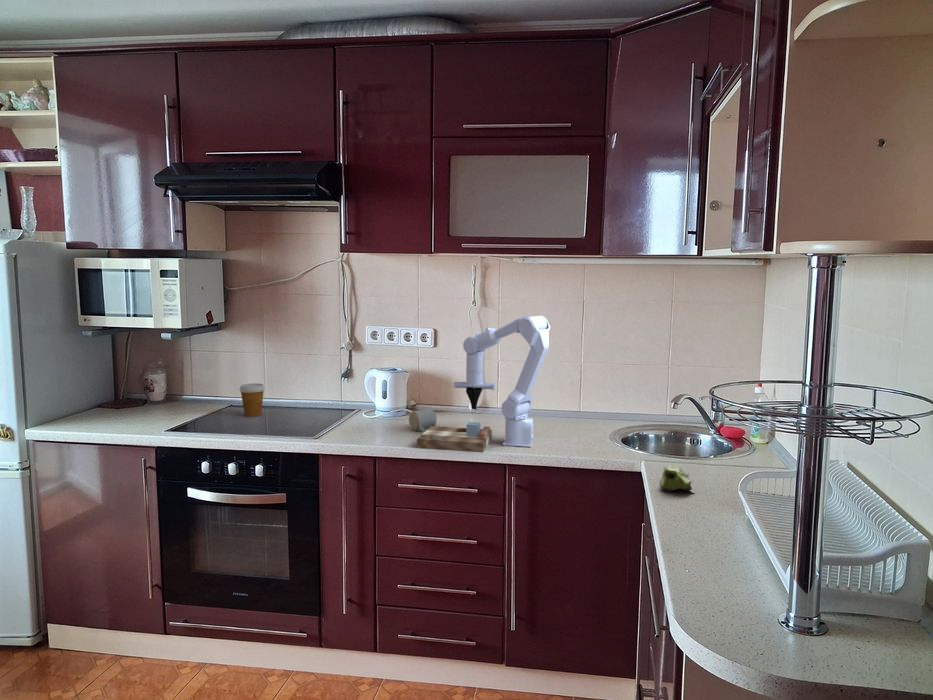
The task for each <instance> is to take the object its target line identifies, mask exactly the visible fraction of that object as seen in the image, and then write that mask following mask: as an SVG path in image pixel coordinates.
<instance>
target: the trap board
mask: <svg viewBox="0 0 933 700" xmlns="http://www.w3.org/2000/svg"><path fill="white" fill-rule="evenodd" d="M466 428H467V427H455V426H454V427H451V426H437V425H436V426H430V427H429V428H428V429H427V430H426V431H425V432H422V434H421V435H420V436H419V437H417V439H416V447H417V449H429V450H430V449H432V450H443V451H444V450H445V451H460V452H475V453H477V452H478V453H484V452H485V450H486V448H487V447H488V445H489V444H490V442H491V440H492V439H493V429H491V426H484V427H482V428H480V433H479V437H468V436H466ZM491 438H492V439H491ZM488 443H489V444H488Z"/></svg>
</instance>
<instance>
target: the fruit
mask: <svg viewBox="0 0 933 700" xmlns="http://www.w3.org/2000/svg"><path fill="white" fill-rule="evenodd" d="M689 475H690V473H689V472H688V473H687V472H685V471H684V469H683V468H682V466H679V465H666V466H664V467H663V472H662V474H661V477H660V479H659V486H660V487H661V489H662V490H665V489H666V490H665V491H667V490H669V491H668V492H671V491H675V490H678V489H682V490H686V491H687V492H689V491H690V490H692V489H693V488H692V486H691V484H692V480H691V478H690V477H689Z"/></svg>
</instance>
